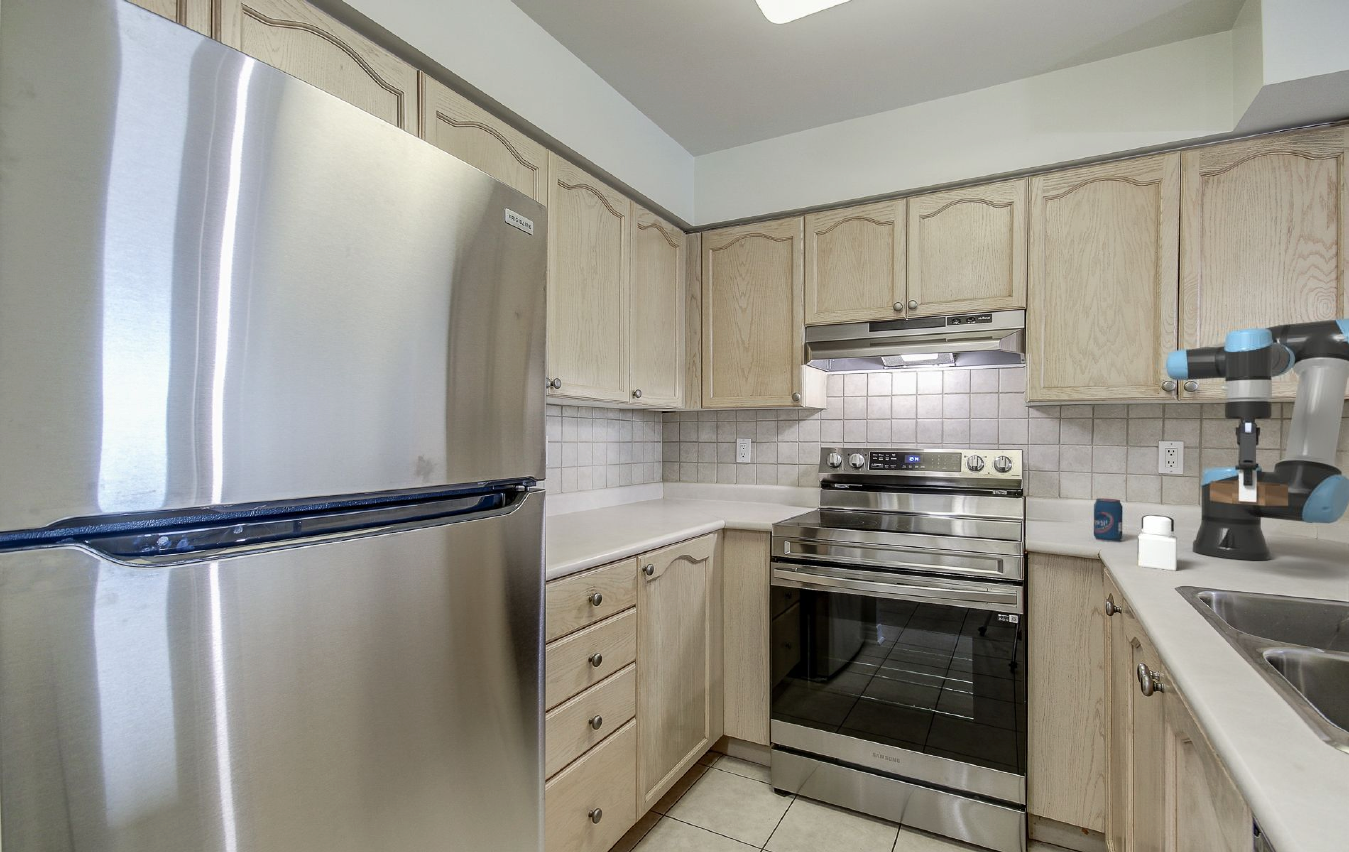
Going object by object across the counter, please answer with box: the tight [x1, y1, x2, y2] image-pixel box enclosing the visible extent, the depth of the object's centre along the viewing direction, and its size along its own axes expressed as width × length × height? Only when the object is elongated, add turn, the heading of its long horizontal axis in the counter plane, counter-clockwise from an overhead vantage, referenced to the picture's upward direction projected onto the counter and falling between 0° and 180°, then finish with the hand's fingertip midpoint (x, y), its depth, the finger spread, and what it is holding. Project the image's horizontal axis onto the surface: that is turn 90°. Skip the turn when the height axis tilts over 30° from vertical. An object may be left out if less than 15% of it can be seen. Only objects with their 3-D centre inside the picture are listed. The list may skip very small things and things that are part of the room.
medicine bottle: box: [1137, 514, 1178, 572], centre depth 148 cm, size 7×7×12 cm
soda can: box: [1093, 497, 1124, 543], centre depth 184 cm, size 7×7×12 cm
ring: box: [1210, 481, 1288, 506], centre depth 137 cm, size 12×12×4 cm
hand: (1247, 499), depth 137 cm, fingers closed on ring, 12 cm apart
